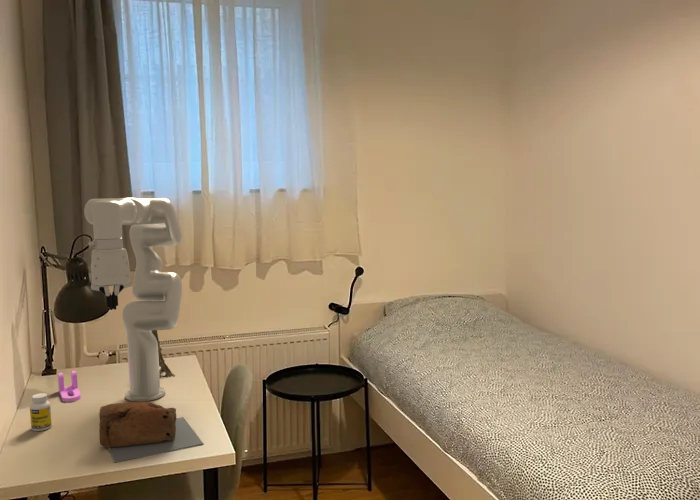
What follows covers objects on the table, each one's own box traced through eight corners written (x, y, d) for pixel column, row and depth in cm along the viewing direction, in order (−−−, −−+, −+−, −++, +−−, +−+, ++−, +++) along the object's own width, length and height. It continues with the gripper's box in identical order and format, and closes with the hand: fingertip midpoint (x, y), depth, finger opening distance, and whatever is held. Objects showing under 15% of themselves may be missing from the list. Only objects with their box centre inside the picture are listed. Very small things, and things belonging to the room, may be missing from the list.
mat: (102, 433, 190) (102, 432, 190) (183, 417, 201) (183, 416, 201) (114, 463, 171) (114, 461, 171) (203, 444, 182) (203, 443, 181)
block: (102, 440, 184) (176, 433, 189) (98, 450, 177) (176, 444, 182) (100, 401, 183) (175, 396, 188) (96, 411, 176) (175, 405, 181)
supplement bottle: (29, 432, 191) (27, 399, 190) (33, 425, 197) (30, 393, 195) (50, 430, 193) (47, 397, 192) (53, 423, 198) (50, 391, 197)
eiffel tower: (144, 381, 236) (141, 311, 233) (138, 373, 245) (134, 306, 242) (174, 376, 241) (171, 308, 238) (167, 368, 250) (164, 303, 247)
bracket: (58, 391, 226) (57, 371, 225) (76, 388, 229) (75, 369, 228) (63, 403, 215) (62, 382, 214) (82, 400, 218) (80, 379, 217)
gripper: (81, 248, 181) (86, 314, 183) (138, 244, 188) (142, 308, 190) (78, 245, 187) (82, 309, 190) (133, 241, 194) (137, 303, 196)
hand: (112, 308), depth 190 cm, fingers closed
